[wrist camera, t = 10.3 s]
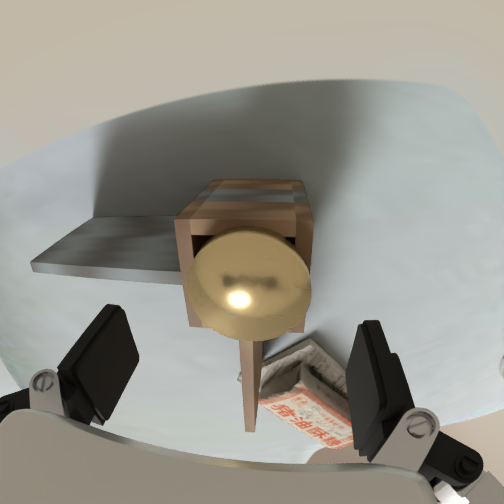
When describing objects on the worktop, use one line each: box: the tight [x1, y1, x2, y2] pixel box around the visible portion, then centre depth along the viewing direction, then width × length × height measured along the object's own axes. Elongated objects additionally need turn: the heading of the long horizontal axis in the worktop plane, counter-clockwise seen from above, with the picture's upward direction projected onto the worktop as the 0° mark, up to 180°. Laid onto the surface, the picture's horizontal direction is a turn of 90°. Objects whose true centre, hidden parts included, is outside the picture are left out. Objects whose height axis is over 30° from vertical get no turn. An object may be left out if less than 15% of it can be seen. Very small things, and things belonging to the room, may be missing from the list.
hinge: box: [30, 180, 314, 432], centre depth 22 cm, size 19×19×9 cm
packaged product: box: [237, 338, 353, 449], centre depth 30 cm, size 18×5×10 cm
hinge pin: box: [186, 226, 311, 341], centre depth 18 cm, size 6×6×10 cm
